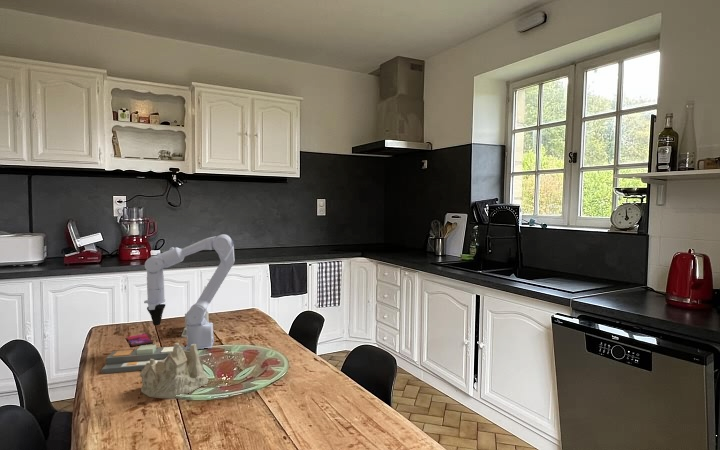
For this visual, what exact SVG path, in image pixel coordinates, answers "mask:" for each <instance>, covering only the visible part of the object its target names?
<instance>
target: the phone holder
mask: <svg viewBox="0 0 720 450" xmlns="http://www.w3.org/2000/svg"><path fill="white" fill-rule="evenodd" d="M206 286H207V285H205V286H204V288H203V290H202V292H201V294H202V293H203V291H204V289H205V288H206ZM186 314H187V312H186V313H184V328H183V331H182V333H181V338H187V321H186ZM209 316H210V315H209V312H208V311H207V312H206V315H205V317H204V318H205V319H206V320H207V322H208V323H210V321H209V320H210V319H209Z"/></svg>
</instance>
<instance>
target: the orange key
mask: <svg viewBox="0 0 720 450" xmlns="http://www.w3.org/2000/svg"><path fill="white" fill-rule="evenodd" d="M123 350H124V351H118V350H116V351H117V352H116V353H115V354H114V355H113V356H112V357H116V356H129V355H130V354H131V353H132V352H133V350H131V349H123Z"/></svg>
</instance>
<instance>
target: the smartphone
mask: <svg viewBox="0 0 720 450" xmlns="http://www.w3.org/2000/svg"><path fill="white" fill-rule="evenodd" d="M126 338H127V339H126V341H127V340H128V341H127V342H128V343H130V344H129V345H130V347H131V348H136V347H140V346H142V345H154V341H153V340H152V339H151V337H149V335H148V334H146V333H144V334H138V335H131V336H126Z"/></svg>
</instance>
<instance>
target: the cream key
mask: <svg viewBox="0 0 720 450" xmlns="http://www.w3.org/2000/svg"><path fill="white" fill-rule="evenodd" d="M163 347H164V348H163V350H162V351H161V353H167V352H173V348H174V347H170V346H163Z"/></svg>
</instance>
